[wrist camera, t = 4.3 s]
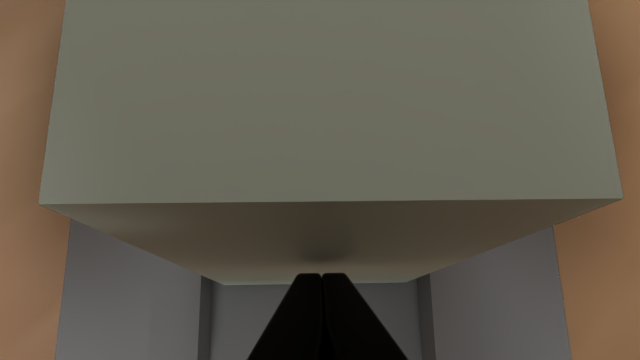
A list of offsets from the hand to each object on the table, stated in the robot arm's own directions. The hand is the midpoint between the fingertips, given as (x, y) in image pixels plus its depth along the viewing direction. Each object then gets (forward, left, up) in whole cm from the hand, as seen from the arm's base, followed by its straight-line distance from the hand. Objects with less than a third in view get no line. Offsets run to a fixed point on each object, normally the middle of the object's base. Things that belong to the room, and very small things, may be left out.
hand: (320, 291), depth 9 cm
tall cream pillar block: (+2, -2, -5) cm, 6 cm away
